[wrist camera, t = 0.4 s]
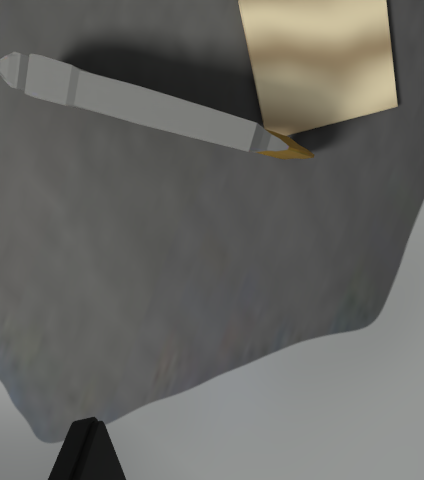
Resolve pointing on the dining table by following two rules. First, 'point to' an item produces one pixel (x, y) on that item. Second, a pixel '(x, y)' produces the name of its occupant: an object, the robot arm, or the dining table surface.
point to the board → (318, 60)
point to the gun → (141, 105)
